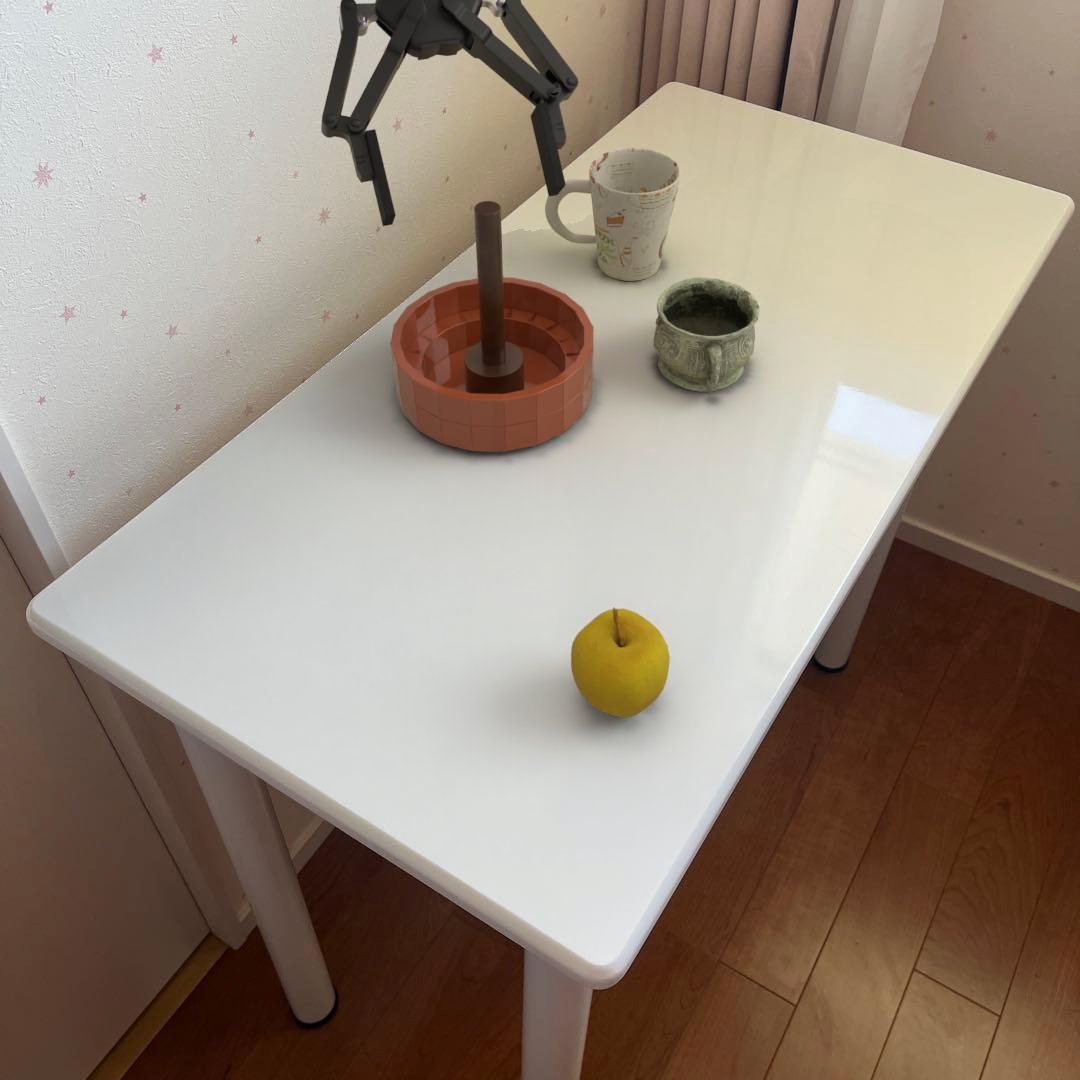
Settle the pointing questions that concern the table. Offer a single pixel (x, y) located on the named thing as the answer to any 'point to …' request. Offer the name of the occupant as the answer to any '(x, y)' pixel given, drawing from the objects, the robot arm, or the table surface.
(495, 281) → the brown joystick
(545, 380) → the bowl
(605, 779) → the table surface
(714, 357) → the vessel
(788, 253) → the table surface
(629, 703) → the apple
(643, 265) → the mug
